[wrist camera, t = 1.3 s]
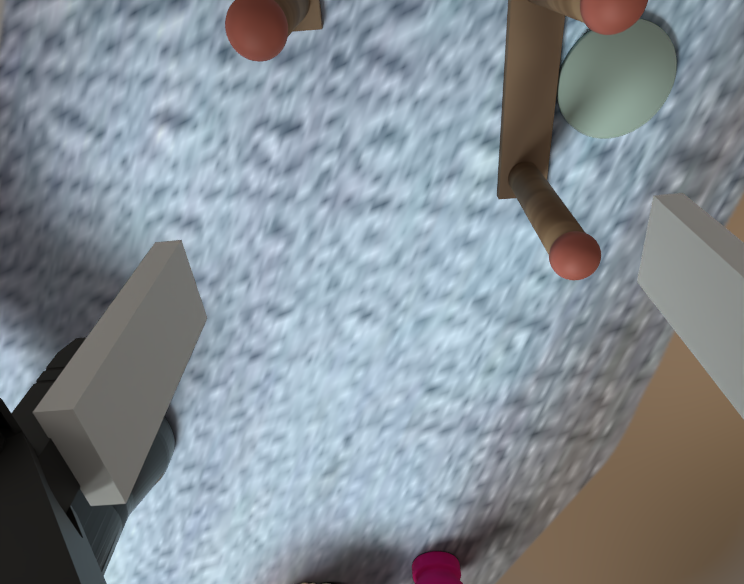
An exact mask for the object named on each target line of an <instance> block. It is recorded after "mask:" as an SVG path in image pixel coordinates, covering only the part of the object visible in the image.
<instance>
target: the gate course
mask: <svg viewBox="0 0 744 584" xmlns="http://www.w3.org/2000/svg"><path fill="white" fill-rule="evenodd" d="M647 2H648V0H508V14H507V31H506V48H505V65H504V82H503V99H502V116H501V133H500V150H499V167H498V184H497V197H498V199H510V198H517V199H518V201H519V203H520V205H521V207H522V208H523V210H524V212H525V214H526V215H527V217H528V219H529V221H530V222H531V224H532V226H533V228H534V229H535V231H536V233H537V235H538V237H539V238H540V240H541V242H542V244H543V245H544V247H545V249H546V251H547V252H548V254H549V261H550V264H551V267H552V268H553V270H554V271H555V272H556V273H557V274H558V275H559V276H561V277H563V278H565V279H569V280H581V279H584V278H586V277H588V276H590V275H591V274H592V273H594V272H595V270H596V269H597V268H598V266H599V264H600V260H601V250H600V247H599V245H598V243H597V241H596V240H595V239H594V238H593V237H592V236H590V235H588V234H586V233H585V232H584V230H583V229H582V227H581V226H580V225H579V223H578V222H577V221H576V219H575V218H574V217H573V215H572V214H571V212H570V211H569V210H568V208H567V207H566V206H565V204H564V203H563V202H562V200H561V199H560V197H559V196H558V195H557V193H556V192H555V191H554V189H553V188H552V187H551V185H550V184H549V183H548V181H547V174H548V165H549V156H550V147H551V138H552V129H553V120H554V111H555V102H556V93H557V84H558V75H559V66H560V57H561V48H562V39H563V30H564V21H565V16H568V17H570V18H573V19H576V20H578V21H581V22H584V23H585V24H586V26H587V27H588V28H589V29H591V30H592V31H594V32H596V33H598V34H602V35H613V34H618V33H621V32H623V31H625V30H627V29H628V28H630V27H631V26H632V25H634V24H635V23H636V22H637V21H638V20H639V18H640V17H641V15H642V14H643V12H644V10H645V8H646V6H647ZM225 28H226V33H227V37H228V39H229V41H230V43H231V45H232V46H233V48H234V49H235V50H236V51H237V52H238V53H239V54H240V55H242V56H243V57H245V58H247V59H249V60H252V61H267V60H270V59H272V58H274V57H275V56H277V55H278V54H279V53H280V52H281V51H282V49H283V48H284V46H285V44H286V41H287V37H288V36H289V35H290V34H291V32H292V31H305V30H318V29H322V28H323V25H322V15H321V6H320V0H235V1H234V2H233V3H232V4H231V6H230V7H229V9H228V12H227V15H226V21H225Z"/></svg>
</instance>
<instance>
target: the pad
mask: <svg viewBox="0 0 744 584" xmlns="http://www.w3.org/2000/svg"><path fill="white" fill-rule="evenodd" d="M676 65H677V61H676V53H675V49H674V46H673V44H672V42H671V40H670V38H669V37H668V35H667V34H666V33H665V32H664V31H663V30H662V29H661V28H660V27H659V26H657V25H656V24H654V23H652V22H649V21H646V20H643V19H639V20H638V21H637V22H636V23H635V24H634V25H632V26H631V27H630V28H628V29H627V30H625V31H623V32H621V33H618V34H613V35H602V34H598V33H596V32H594V31H592V30H590V31H588V32H587V33H586V34H585V35H583V36H582V37H581V38H580V39H579V40H578V41H577V42H576V44H575V45H574V46H573V47H572V48H571V50H570V51H569V53H568V54H567V56H566V58H565V60H564V62H563V64H562V66H561V69H560V72H559V75H558V84H557V101H558V105H559V108H560V111H561V113H562V115H563V117H564V118H565V119H566V121H567V122H568V123H569V124H570V125H571V126H572V127H573V128H574V129H576V130H577V131H579V132H580V133H582V134H584V135H586V136H589V137H593V138H600V139H607V138H615V137H619V136H622V135H625V134H628V133H630V132H632V131H634V130H636V129H638V128H639V127H641V126H642V125H644V124H645V123H646V122H647V121H649V120H650V119H651V118H652V117H653V116H654V115H655V114H656V113H657V112H658V110H659V109H660V108H661V107H662V105H663V104H664V102H665V101H666V99H667V97H668V95H669V94H670V91H671V89H672V86H673V83H674V80H675V75H676Z"/></svg>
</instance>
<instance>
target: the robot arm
mask: <svg viewBox="0 0 744 584" xmlns="http://www.w3.org/2000/svg"><path fill="white" fill-rule="evenodd" d="M637 282H638V284H639V285H640V286H641V287H642V289H643V290H644V291H645V293H646V294H647V295H648V296H649V298H650V299H651V300H652V302H653V303H654V304H655V306H656V307H657V308H658V309H659V311H660V312H661V313H662V315H663V316H664V317H665V318H666V320H667V321H668V322H669V324H670V325H671V326H672V327H673V329H674V330H675V331H676V332H677V334H678V335H679V336H680V338H681V339H682V340H683V342H684V343H685V344H686V345H687V347H688V348H689V349H690V351H691V352H692V353H693V355H694V356H695V357H696V358H697V360H698V361H699V362H700V364H701V365H702V366H703V367H704V369H705V370H706V371H707V373H708V374H709V375H710V376H711V377H712V379H713V380H714V382H715V383H716V384H717V385H718V387H719V388H720V389H721V391H722V392H723V393H724V395H725V396H726V397H727V398H728V400H729V401H730V402H731V404H732V405H733V406H734V407H735V409H736V410H737V411H738V413H739V414H740V415H741V416H742V418H743V419H744V243H743V242H742V241H741V240H740V239H738V238H737V237H736V236H735V235H733V234H732V233H731V232H730V231H729V230H727V229H726V228H725V227H724V226H723V225H721V224H720V223H719V222H718V221H716V220H715V219H714V218H713V217H711V216H710V215H709V214H708V213H707V212H705V211H704V210H703V209H702V208H700V207H699V206H698V205H697V204H695V203H694V202H693V201H692V200H691V199H689V198H688V197H687V196H686V195H684V194H683V193H677V194H666V195H656V196H653V201H652V206H651V212H650V217H649V222H648V227H647V232H646V238H645V243H644V248H643V253H642V258H641V264H640V269H639V274H638V279H637ZM206 320H207V316H206V313H205V310H204V307H203V304H202V301H201V298H200V295H199V292H198V289H197V286H196V283H195V280H194V277H193V274H192V271H191V268H190V265H189V262H188V259H187V256H186V252H185V249H184V246H183V243H182V240H176V241H165V242H155V243H154V245H153V246H152V248H151V249H150V250H149V252H148V253H147V255H146V256H145V257H144V259H143V260H142V261H141V263H140V264H139V266H138V267H137V268H136V270H135V271H134V273H133V274H132V275H131V277H130V278H129V279H128V281H127V282H126V284H125V285H124V286H123V288H122V289H121V291H120V292H119V293H118V295H117V296H116V298H115V299H114V300H113V302H112V303H111V304H110V306H109V307H108V309H107V310H106V311H105V313H104V314H103V316H102V317H101V318H100V320H99V321H98V322H97V324H96V325H95V327H94V328H93V329H92V331H91V332H90V334H89V335H88V336H87V338H76V339H75V340H74V341H72V342H71V343H70V344H69V345H67V346H66V347H65V348H63V349H62V350H61V351H59V352H58V353H57V354H56V356H55V357H54V358H53V360H52V361H51V362H50V364H49V365H48V366H47V368H46V371H43V373H42V374H41V375H40V377H39V378H38V379H37V381H36V382H37V383H36V384H34V385H33V386H32V387H31V388H30V390H29V391H28V392H27V394H26V395H25V396H24V398H23V399H22V400H21V402H20V403H19V404H18V405H17V407H16V408H15V409H14V411H13V412H12V413H11V412H10V411H9V409H8V408H7V406H6V405H5V403H4V402H3V400H2V399H1V398H0V584H106V581H105V579H104V577H103V576H104V574H105V571H106V569H107V566H108V564H109V562H110V559H111V557H112V554H113V552H114V550H115V547H116V545H117V542H118V540H119V537H120V535H121V533H122V530H123V528H124V526H125V523H126V521H127V519H128V516H129V515H130V514H131V512H132V511H133V510H134V509H135V508H136V507H137V505H138V504H139V503H140V502H141V501H142V499H143V498H144V497H145V496H146V495H147V493H148V492H149V491H150V490H151V488H152V487H153V486H154V485H155V484H156V483H157V482H158V481H159V480H160V479H161V478H162V477H163V475H164V474H165V472H166V470H167V468H168V465H169V463H170V460H171V457H172V455H173V452H174V447H175V440H174V435H173V432H172V429H171V427H170V425H169V423H168V422H167V420H166V419H165V417H164V416H165V414H166V411H167V409H168V407H169V404H170V402H171V400H172V398H173V395H174V393H175V391H176V388H177V386H178V384H179V382H180V379H181V377H182V375H183V373H184V370H185V368H186V366H187V363H188V361H189V359H190V357H191V354H192V352H193V350H194V347H195V345H196V343H197V341H198V338H199V336H200V334H201V331H202V329H203V327H204V325H205V322H206Z"/></svg>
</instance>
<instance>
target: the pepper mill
mask: <svg viewBox="0 0 744 584" xmlns="http://www.w3.org/2000/svg"><path fill="white" fill-rule="evenodd" d="M412 574H413V580H414V582H415V584H463V583H462V582H461V581H460V578H461V571H460V564H459V561H458V559H457V558H456V557H455V556H454V555H452V554H450V553H447V552H441V551H434V552H427V553H424V554H422V555H420V556H418V557H417V558H416V559H415V560H414V562H413V564H412Z"/></svg>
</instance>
